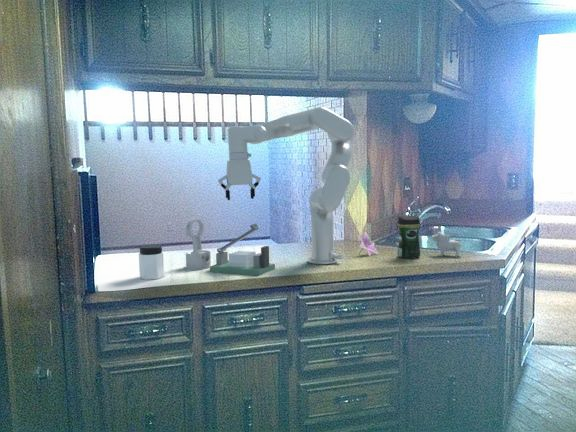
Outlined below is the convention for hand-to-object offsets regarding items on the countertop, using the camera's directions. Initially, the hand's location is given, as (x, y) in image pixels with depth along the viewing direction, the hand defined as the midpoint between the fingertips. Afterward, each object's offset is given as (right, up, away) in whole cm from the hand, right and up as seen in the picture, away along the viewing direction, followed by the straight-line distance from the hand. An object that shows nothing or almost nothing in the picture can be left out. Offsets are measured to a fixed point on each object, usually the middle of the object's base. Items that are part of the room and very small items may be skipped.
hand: (240, 199), depth 218 cm
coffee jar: (+73, -25, +19) cm, 79 cm away
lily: (+56, -25, +27) cm, 67 cm away
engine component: (-18, -28, +3) cm, 34 cm away
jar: (-32, -30, -14) cm, 47 cm away
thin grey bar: (0, -17, -4) cm, 18 cm away
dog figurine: (+91, -25, +22) cm, 96 cm away
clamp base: (+1, -29, -3) cm, 29 cm away
